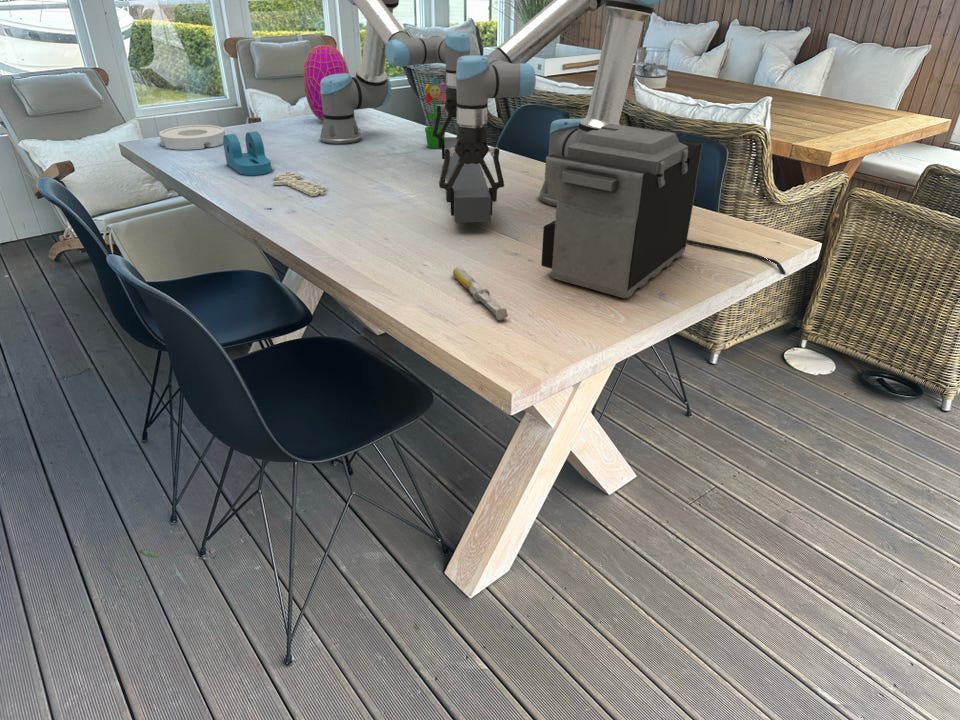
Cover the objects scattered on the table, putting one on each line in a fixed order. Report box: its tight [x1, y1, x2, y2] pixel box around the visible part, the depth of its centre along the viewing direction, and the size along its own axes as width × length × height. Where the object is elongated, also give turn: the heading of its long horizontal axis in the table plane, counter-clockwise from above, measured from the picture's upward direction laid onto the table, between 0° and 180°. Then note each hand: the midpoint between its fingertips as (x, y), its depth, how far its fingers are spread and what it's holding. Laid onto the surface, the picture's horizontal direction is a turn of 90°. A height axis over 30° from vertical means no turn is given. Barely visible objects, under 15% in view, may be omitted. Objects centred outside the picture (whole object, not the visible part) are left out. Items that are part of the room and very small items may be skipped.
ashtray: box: [158, 124, 226, 151], centre depth 259 cm, size 23×23×4 cm
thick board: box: [443, 136, 492, 223], centre depth 203 cm, size 67×9×6 cm, turn 5°
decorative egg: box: [303, 44, 350, 122], centre depth 287 cm, size 19×19×30 cm
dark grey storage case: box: [540, 124, 704, 299], centre depth 153 cm, size 37×22×30 cm, turn 144°
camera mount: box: [222, 131, 272, 176], centre depth 226 cm, size 18×10×10 cm, turn 35°
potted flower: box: [424, 75, 448, 149], centre depth 252 cm, size 9×8×25 cm
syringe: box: [452, 266, 509, 321], centre depth 145 cm, size 25×4×3 cm, turn 21°
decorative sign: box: [273, 171, 326, 197], centre depth 212 cm, size 26×1×10 cm
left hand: (458, 158), depth 229 cm, fingers closed on thick board, 9 cm apart
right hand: (471, 213), depth 179 cm, fingers closed on thick board, 9 cm apart
